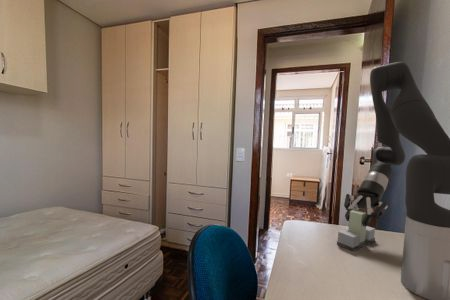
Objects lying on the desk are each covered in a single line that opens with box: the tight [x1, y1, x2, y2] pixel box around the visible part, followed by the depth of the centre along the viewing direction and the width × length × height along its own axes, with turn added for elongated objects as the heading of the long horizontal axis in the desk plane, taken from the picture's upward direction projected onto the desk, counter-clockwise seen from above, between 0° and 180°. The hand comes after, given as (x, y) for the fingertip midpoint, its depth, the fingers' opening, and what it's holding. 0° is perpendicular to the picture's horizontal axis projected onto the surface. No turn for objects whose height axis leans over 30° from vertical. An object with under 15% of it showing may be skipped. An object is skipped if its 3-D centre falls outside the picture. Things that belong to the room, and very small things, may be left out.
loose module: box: [347, 209, 367, 243], centre depth 78 cm, size 4×4×10 cm
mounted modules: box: [337, 225, 376, 248], centre depth 78 cm, size 5×16×4 cm, turn 124°
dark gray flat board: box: [336, 237, 376, 252], centre depth 78 cm, size 6×16×1 cm, turn 124°
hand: (355, 222), depth 77 cm, fingers open, 5 cm apart
